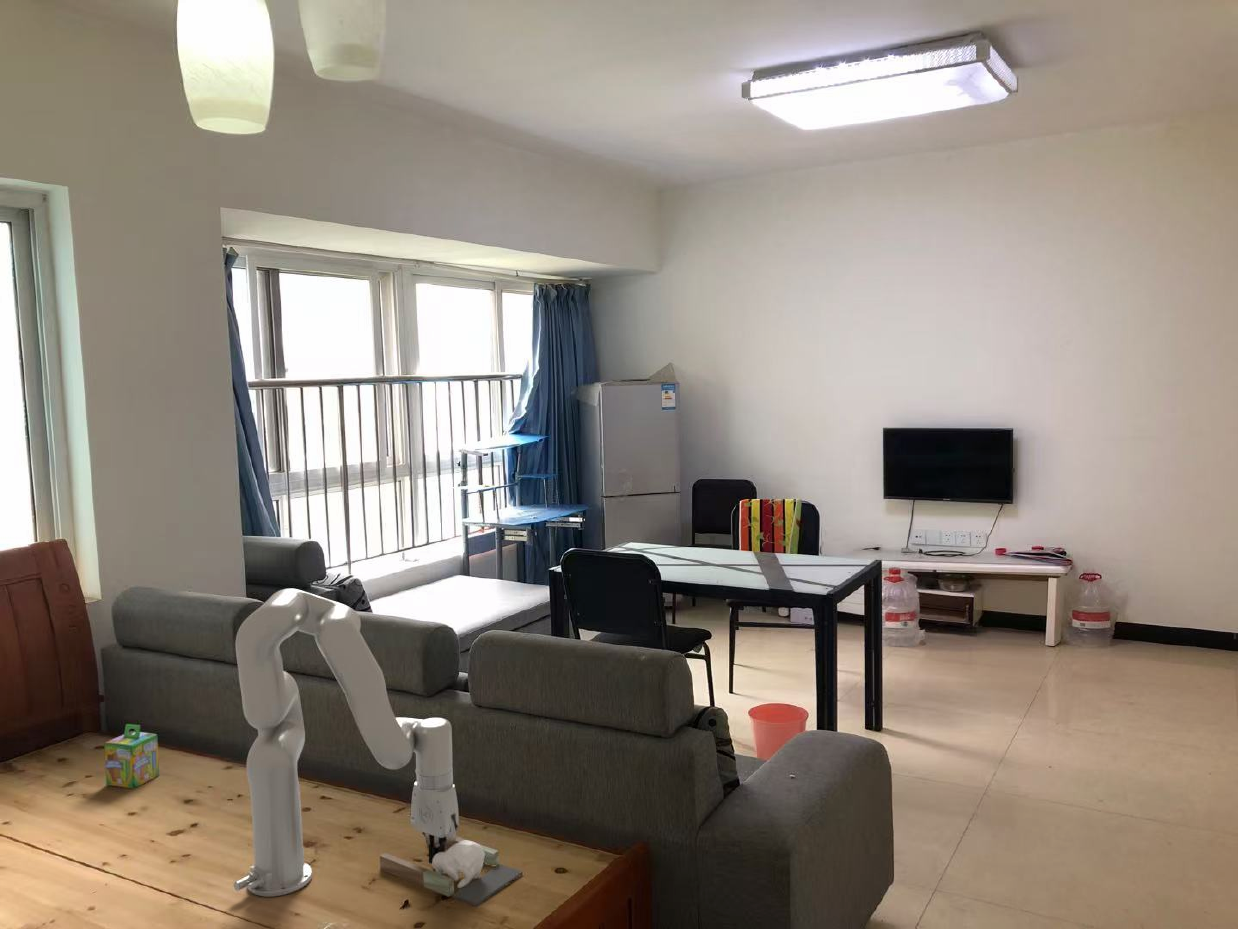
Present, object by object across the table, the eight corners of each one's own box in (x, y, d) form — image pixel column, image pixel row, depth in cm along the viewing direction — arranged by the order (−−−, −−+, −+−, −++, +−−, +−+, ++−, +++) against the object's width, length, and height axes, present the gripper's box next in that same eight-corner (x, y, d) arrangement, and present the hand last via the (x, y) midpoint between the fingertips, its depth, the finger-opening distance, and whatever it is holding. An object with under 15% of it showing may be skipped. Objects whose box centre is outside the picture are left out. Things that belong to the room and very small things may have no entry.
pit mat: (476, 906, 187) (476, 903, 187) (454, 897, 190) (453, 894, 190) (522, 874, 198) (522, 871, 198) (500, 866, 201) (500, 864, 201)
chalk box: (105, 786, 247) (101, 730, 246) (133, 772, 256) (129, 718, 254) (134, 790, 244) (130, 733, 243) (161, 775, 253) (157, 721, 252)
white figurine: (466, 850, 191) (421, 843, 197) (470, 892, 191) (425, 883, 197) (485, 837, 196) (441, 830, 202) (490, 878, 196) (446, 869, 203)
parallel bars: (448, 896, 190) (448, 882, 190) (380, 869, 201) (379, 856, 201) (498, 864, 202) (498, 851, 202) (431, 840, 214) (431, 827, 213)
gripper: (396, 776, 202) (399, 859, 203) (448, 792, 193) (450, 879, 195) (422, 764, 208) (424, 845, 209) (473, 779, 200) (475, 863, 201)
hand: (436, 861), depth 202 cm, fingers closed
